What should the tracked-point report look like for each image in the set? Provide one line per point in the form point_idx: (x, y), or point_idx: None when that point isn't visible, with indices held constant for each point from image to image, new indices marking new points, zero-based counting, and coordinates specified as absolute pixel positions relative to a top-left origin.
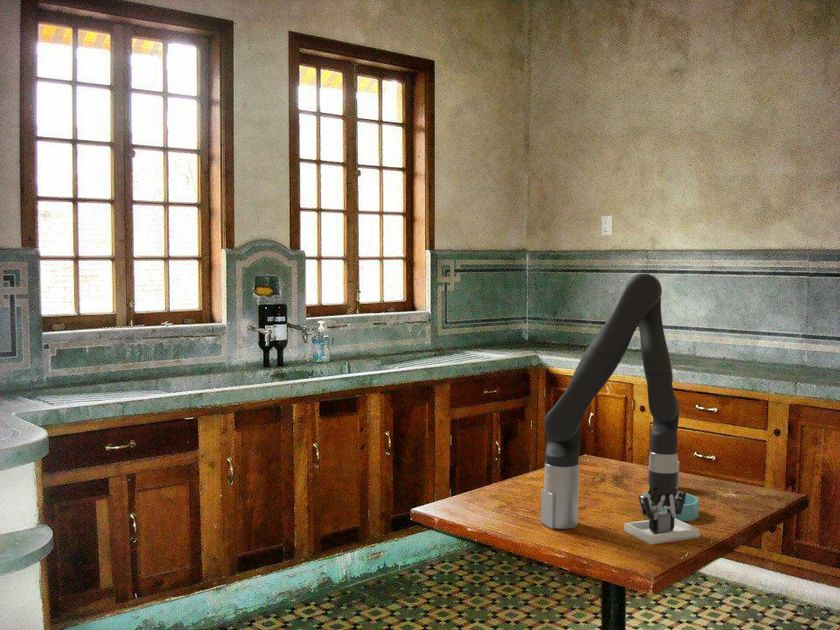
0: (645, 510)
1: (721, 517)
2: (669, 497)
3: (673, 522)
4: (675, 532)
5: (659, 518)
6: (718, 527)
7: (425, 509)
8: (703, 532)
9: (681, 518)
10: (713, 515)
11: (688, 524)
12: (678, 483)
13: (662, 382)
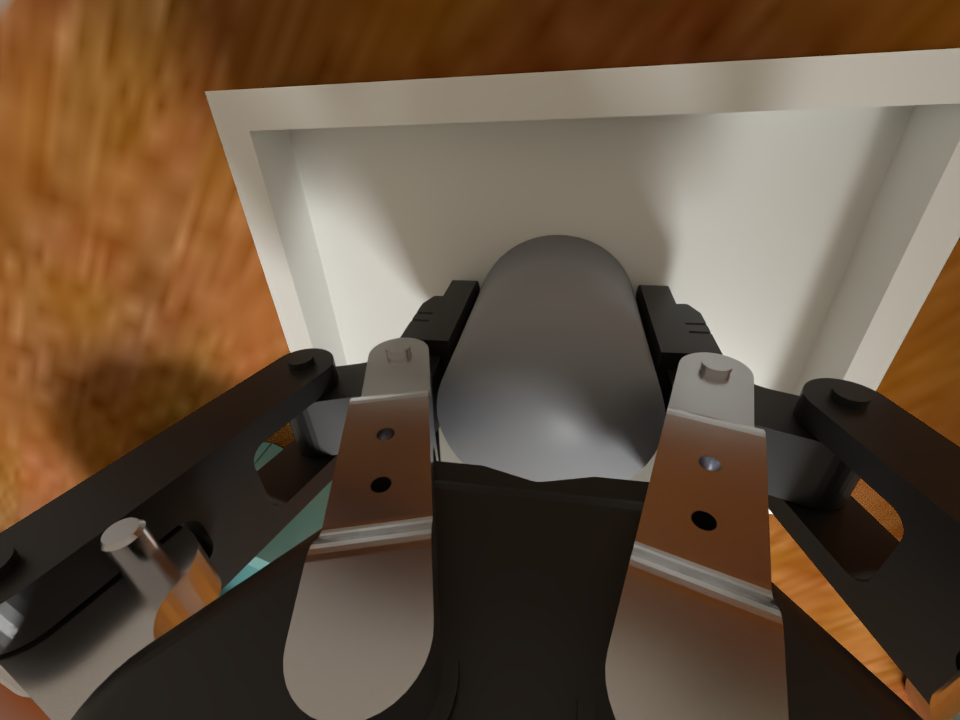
0: (833, 529)
1: (15, 407)
2: (428, 621)
3: (419, 324)
4: (556, 84)
5: (645, 352)
6: (50, 271)
7: None
8: (185, 215)
9: (255, 457)
10: (57, 444)
11: (269, 285)
12: None
13: None
